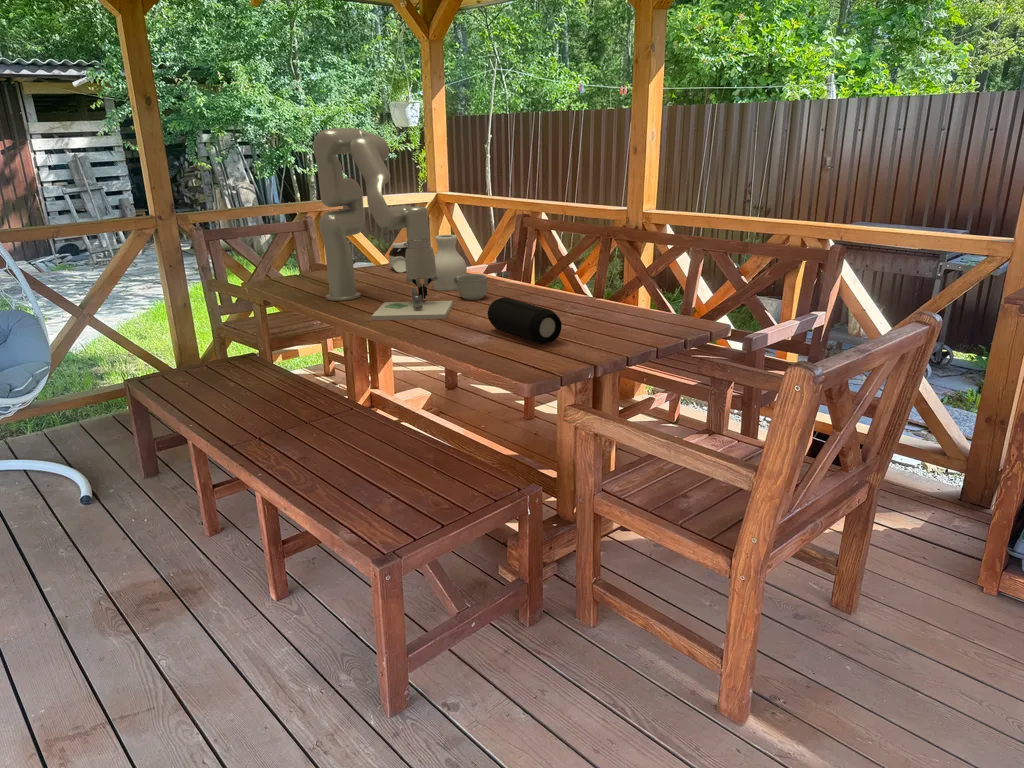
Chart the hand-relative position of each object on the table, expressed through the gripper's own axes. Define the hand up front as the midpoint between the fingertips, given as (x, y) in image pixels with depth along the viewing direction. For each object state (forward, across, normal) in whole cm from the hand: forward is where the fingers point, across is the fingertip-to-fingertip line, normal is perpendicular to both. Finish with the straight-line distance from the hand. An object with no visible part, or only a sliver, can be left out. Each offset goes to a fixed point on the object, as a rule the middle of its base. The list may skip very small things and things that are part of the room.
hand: (423, 297), depth 251 cm
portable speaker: (+4, +28, -45) cm, 54 cm away
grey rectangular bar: (+1, -3, -4) cm, 5 cm away
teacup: (+4, +17, +11) cm, 21 cm away
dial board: (+3, -4, -6) cm, 8 cm away
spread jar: (+3, -8, +76) cm, 76 cm away
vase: (+4, +10, +32) cm, 34 cm away
